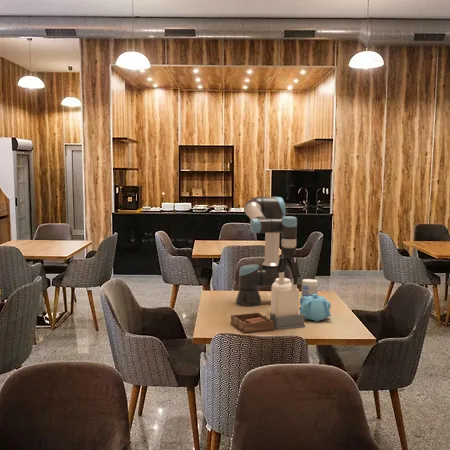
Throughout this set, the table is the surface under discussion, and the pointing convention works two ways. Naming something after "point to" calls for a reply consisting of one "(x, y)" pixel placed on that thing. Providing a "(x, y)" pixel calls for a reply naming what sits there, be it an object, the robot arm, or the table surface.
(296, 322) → the slot holder
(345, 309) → the table surface
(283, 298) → the tall board
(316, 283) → the supplement tub
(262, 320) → the cherry offcut
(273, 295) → the white jar
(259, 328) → the brown wooden tray
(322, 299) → the decorative pot
